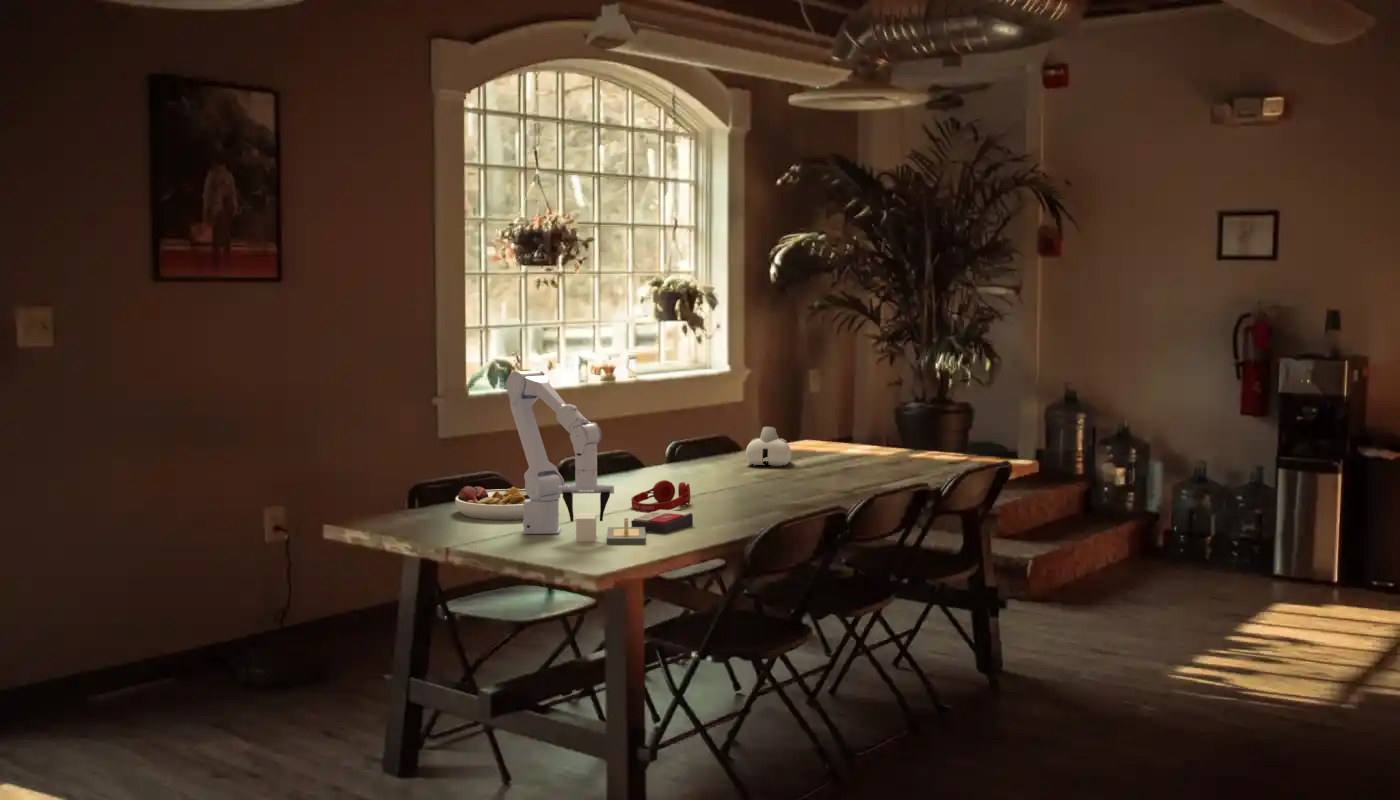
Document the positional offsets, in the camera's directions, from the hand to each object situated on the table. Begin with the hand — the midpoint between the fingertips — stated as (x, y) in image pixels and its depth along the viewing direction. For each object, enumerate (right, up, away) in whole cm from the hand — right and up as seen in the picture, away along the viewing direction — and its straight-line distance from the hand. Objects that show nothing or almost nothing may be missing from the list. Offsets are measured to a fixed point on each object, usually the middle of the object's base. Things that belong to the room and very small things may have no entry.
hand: (586, 520), depth 359 cm
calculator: (+19, -4, +17) cm, 26 cm away
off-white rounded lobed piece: (+56, +8, +147) cm, 158 cm away
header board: (+10, -5, +1) cm, 11 cm away
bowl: (-27, -2, +40) cm, 48 cm away
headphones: (+18, -1, +51) cm, 55 cm away
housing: (0, -5, 0) cm, 5 cm away
